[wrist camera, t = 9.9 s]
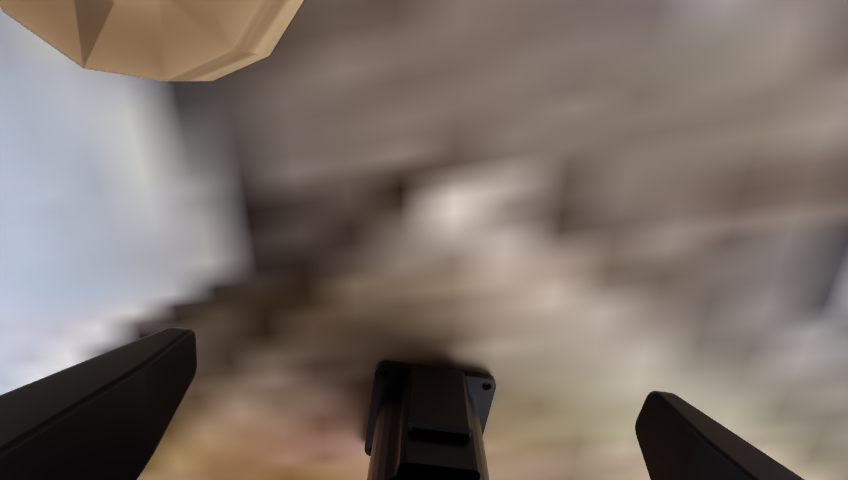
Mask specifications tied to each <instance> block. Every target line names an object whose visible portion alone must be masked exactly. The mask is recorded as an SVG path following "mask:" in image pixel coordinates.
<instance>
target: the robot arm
mask: <svg viewBox="0 0 848 480" xmlns="http://www.w3.org/2000/svg"><path fill="white" fill-rule="evenodd" d="M196 368H197V356H196V337H195V333H194V331H192V330H191V329H186V328H178V327H169V328H166V329H163V330H161V331H158V332H156V333H154V334H151V335H149V336H146V337H144V338H141V339H139V340H136V341H134V342H131V343H129V344H126V345H124V346H121V347H119V348H116V349H114V350H111V351H109V352H107V353H104V354H102V355H99V356H97V357H94V358H92V359H89V360H87V361H84V362H82V363H79V364H77V365H74V366H72V367H69V368H67V369H64V370H62V371H60V372H57V373H55V374H52V375H50V376H47V377H45V378H42V379H40V380H37V381H35V382H32V383H30V384H27V385H25V386H22V387H20V388H17V389H15V390H13V391H10V392H8V393H5V394H3V395H0V480H137V478H138V477H139V475H140V474H141V472H142V471H143V469H144V468H145V466H146V465H147V463H148V462H149V460H150V458H151V457H152V455H153V454H154V452H155V450H156V448H157V446H158V445H159V443H160V441H161V439H162V437H163V435H164V434H165V432H166V430H167V428H168V426H169V424H170V422H171V420H172V418H173V416H174V414H175V413H176V411H177V409H178V407H179V405H180V403H181V401H182V399H183V397H184V395H185V393H186V392H187V390H188V388H189V386H190V384H191V382H192V380H193V378H194V376H195V373H196ZM383 369H386V370H388V372H383V371H382V370H383ZM484 383H489V384H488V385H483V384H484ZM495 388H496V383H495V379H494V377H493V376H491V375H489V374H484V373H476V372H469V371H461V370H455V369H447V368H440V367H432V366H424V365H416V364H408V363H400V362H393V361H381V362H379V363H378V364H377V366H376V371H375V378H374V386H373V393H372V400H371V407H370V414H369V421H368V429H367V436H366V443H365V452H366V454H367V455H369V456H371V457H370V464H369V471H368V478H367V480H489V475H488V468H487V462H486V456H485V449H484V443H483V437H482V436H483V433H484V429H485V425H486V422H487V418H488V414H489V410H490V407H491V403H492V399H493V396H494V392H495ZM635 430H636V436H637V439H638V442H639V445H640V448H641V451H642V454H643V457H644V460H645V463H646V466H647V470H648V473H649V476H650V479H651V480H804V479H803V478H801V477H800V476H798V475H797V474H795V473H794V472H792V471H790V470H789V469H787V468H786V467H784V466H783V465H781V464H780V463H778V462H777V461H775V460H774V459H772V458H771V457H769V456H768V455H766V454H765V453H763V452H762V451H760V450H759V449H757V448H756V447H754V446H752V445H751V444H749V443H748V442H746V441H745V440H743V439H742V438H740V437H739V436H737V435H736V434H734V433H733V432H731V431H730V430H728V429H727V428H725V427H724V426H722V425H721V424H719V423H718V422H716V421H715V420H713V419H711V418H710V417H708V416H707V415H705V414H704V413H702V412H701V411H699V410H698V409H696V408H695V407H693V406H692V405H690V404H689V403H687V402H686V401H684V400H683V399H681V398H680V397H678V396H677V395H675V394H672V393H667V392H660V391H652V392H650V393H649V394H648V396H647V398H646V400H645V402H644V404H643V407H642V409H641V411H640V413H639V416H638V418H637V420H636V425H635Z"/></svg>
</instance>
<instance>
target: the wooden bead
mask: <svg viewBox="0 0 848 480" xmlns="http://www.w3.org/2000/svg"><path fill="white" fill-rule="evenodd" d="M303 1H304V0H0V7H1V9H2V10H3V12H4V13H6V14H7V15H9V16H10V17H11V18H13V19H14V20H16V21H17V22H19V23H20V24H21V25H23V26H24V27H26V28H27V29H28V30H30V31H31V32H33V33H34V34H36V35H37V36H38V37H40V38H41V39H43V40H44V41H45V42H47V43H48V44H50V45H51V46H52V47H54V48H55V49H57V50H58V51H60V52H61V53H62V54H64V55H65V56H67V57H68V58H69V59H71V60H72V61H74V62H75V63H77V64H78V65H79V66H81V67H82V68H85V69H91V70H97V71H104V72H110V73H116V74H122V75H128V76H134V77H141V78H147V79H153V80H159V81H214V80H216V79H218V78H221V77H223V76H225V75H227V74H230V73H232V72H234V71H236V70H239V69H241V68H243V67H245V66H248V65H250V64H252V63H254V62H257V61H259V60H261V59H263V58H266V57H268V56H270V54H271V53H272V51H273V49H274V48H275V46H276V45H277V43H278V41H279V40H280V38H281V36H282V35H283V33H284V32H285V30H286V28H287V27H288V25H289V23H290V22H291V20H292V19H293V17H294V15H295V14H296V12H297V10H298V9H299V7H300V5H301V4H302V2H303Z"/></svg>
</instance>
